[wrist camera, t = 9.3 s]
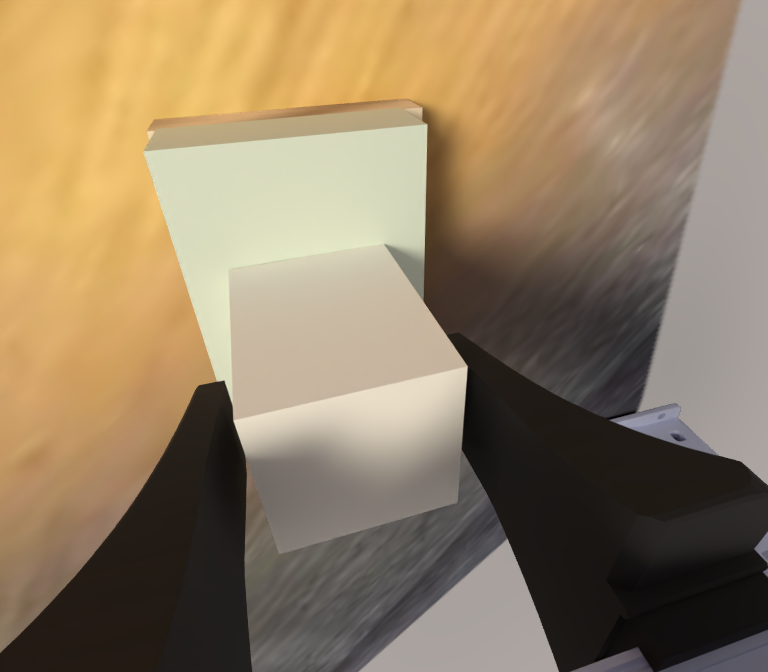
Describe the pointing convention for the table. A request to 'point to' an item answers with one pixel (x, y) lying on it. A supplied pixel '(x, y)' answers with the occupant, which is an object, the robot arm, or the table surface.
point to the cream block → (343, 394)
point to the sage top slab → (287, 199)
